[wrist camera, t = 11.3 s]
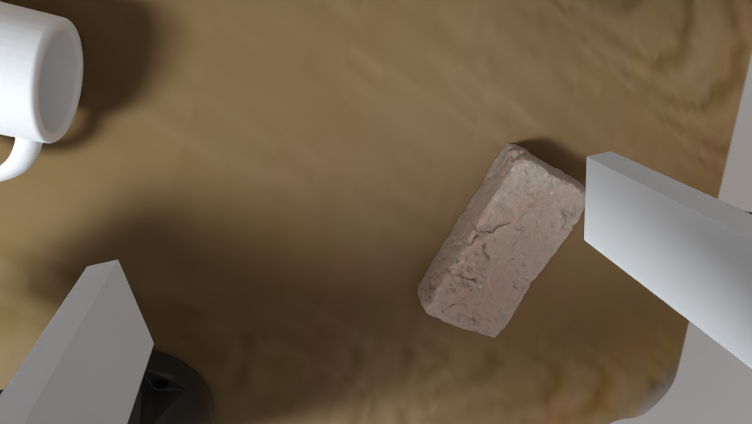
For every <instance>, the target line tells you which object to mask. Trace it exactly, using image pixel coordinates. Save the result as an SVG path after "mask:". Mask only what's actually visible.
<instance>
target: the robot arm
mask: <svg viewBox="0 0 752 424" xmlns="http://www.w3.org/2000/svg"><path fill="white" fill-rule="evenodd" d="M584 240H585V241H586V242H587V243H589V244H590V245H591V246H593V247H594V248H595V249H597V250H598V251H599V252H600V253H602V254H603V255H604V256H606V257H607V258H608V259H610V260H611V261H612V262H613V263H615V264H616V265H617V266H619V267H620V268H621V269H623V270H624V271H625V272H626V273H628V274H629V275H630V276H632V277H633V278H634V279H636V280H637V281H638V282H640V283H641V284H642V285H643V286H645V287H646V288H647V289H649V290H650V291H651V292H653V293H654V294H655V295H656V296H658V297H659V298H660V299H662V300H663V301H664V302H666V303H667V304H668V305H670V306H671V307H672V308H673V309H675V310H676V311H677V312H679V313H680V314H681V315H683V316H684V317H685V318H686V319H688V320H689V321H690V322H692V323H693V324H694V325H696V326H697V327H698V328H699V329H701V330H702V331H704V332H705V333H706V334H707V335H709V336H710V337H711V338H713V339H714V340H715V341H716V342H718V343H719V344H720V345H722V346H723V347H724V348H726V349H727V350H728V351H729V352H731V353H732V354H733V355H735V356H736V357H737V358H739V359H740V360H741V361H743V362H744V363H746V365H748V366H749V367H750V368H752V213H751V212H747V211H743V210H741V209H739V208H736V207H734V206H732V205H730V204H728V203H725V202H723V201H721V200H719V199H716V198H714V197H712V196H710V195H707V194H705V193H703V192H701V191H699V190H696V189H694V188H692V187H690V186H687V185H685V184H683V183H681V182H678V181H676V180H674V179H672V178H669V177H667V176H665V175H663V174H661V173H658V172H656V171H654V170H652V169H649V168H647V167H645V166H643V165H640V164H638V163H636V162H634V161H632V160H629V159H627V158H625V157H623V156H620V155H618V154H616V153H614V152H611V151H610V152H605V153H601V154H596V155H592V156H587V163H586V196H585V228H584ZM153 345H154V343H153V340H152V338H151V335H150V333H149V331H148V328H147V326H146V324H145V321H144V319H143V317H142V314H141V312H140V310H139V307H138V305H137V303H136V300H135V298H134V296H133V293H132V291H131V289H130V286H129V284H128V282H127V279H126V277H125V275H124V272H123V270H122V268H121V265H120V263H119V261H118V260H114V261H109V262H105V263H100V264H96V265H91V266H87V267H86V269H85V270H84V272H83V273H82V275H81V276H80V278H79V279H78V281H77V282H76V284H75V285H74V287H73V288H72V290H71V291H70V293H69V294H68V296H67V297H66V298H65V300H64V301H63V303H62V304H61V306H60V307H59V309H58V310H57V312H56V313H55V315H54V316H53V318H52V319H51V321H50V322H49V324H48V325H47V327H46V328H45V330H44V331H43V332H42V334H41V335H40V337H39V338H38V340H37V341H36V343H35V344H34V346H33V347H32V349H31V350H30V352H29V353H28V355H27V356H26V358H25V359H24V361H23V362H22V364H21V365H20V366H19V368H18V369H17V371H16V372H15V374H14V375H13V377H12V378H11V380H10V381H9V383H8V384H7V386H6V387H5V389H3V390H0V424H211V421H212V415H213V402H212V397H211V394H210V392H209V389H208V387H207V386H206V384H205V382H204V381H203V380H202V379H201V377H200V376H199V375H198V374H197V373H196V372H195V371H194V370H192V369H191V368H190V367H189V366H187V365H186V364H184V363H182V362H181V361H179V360H177V359H175V358H173V357H171V356H168V355H165V354H163V353H159V352H156V351H152V348H153Z"/></svg>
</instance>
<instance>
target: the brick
mask: <svg viewBox="0 0 752 424" xmlns="http://www.w3.org/2000/svg"><path fill="white" fill-rule="evenodd" d="M585 196H586V189H585V187H584V186H583V185H582V184H581V183H580V182H579V181H578V180H576V179H574V178H573V177H571V176H569V175H567V174H565V173H564V172H563V171H561V170H560V169H557V168H554V167H552V166H550V165H549V164H547V163H546V162H544V161H542V160H540V159H538V158H537V157H535V156H534V155H532V154H530V152H529V151H527V150H526V149H525V148H522V147H520V146H518V145H516V144H507V145H506V146H505V147H504V148H503V149H502V150H501V152H500V154H499V155H498V157H497V158H496V159H495V160H494V161H493V163H492V165H491V167H490V169H489V170H488V172H487V174H486V176H485V178H484V181H483V185H481V186H480V188H479V189H478V190H477V191H476V192H475V194H474V195H473V196H472V198H471V199H470V202H469V203H468V205H467V208H466V210H465V211H464V212H463V214H462V215H461V216H460V217H459V218H458V220H457V222H456V224H455V225H454V227H453V228H452V230H451V233H450V235H449V236H448V237H447V238H446V240H445V241H444V243H443V244H442V246H441V248H440V250H439V251H438V253H437V254H436V256H435V258H434V259H433V261H432V262H431V264H430V266H429V268H428V270H427V272H426V273H425V275H424V277H423V278H422V279H421V282H420V284H419V286H418V296H419V298H420V303H421V305H422V307H423V308H424V310H425V311H426V313H427V314H429V315H431V316H434V317H436V318H440V319H441V320H442V321H443V322H447V323H450V324H452V325H455V326H457V327H460V328H462V329H466V330H470V331H474V332H478V333H481V334H484V335H487V336H490V337H496V336H497V335H498V334H499V333H500V331H501V330H503V329H504V328H505V327H506V325H507V324H508V322H509V320H510V319H511V317H512V316H513V314H514V313H515V311H516V309H517V307H518V305H519V304H520V302H521V300H522V299H523V296H524V295H525V293H526V292H527V290H528V289H529V286H530V282H532V281H533V280H534V279H536V277H537V276H538V274H539V273H540V272H541V271H542V270H543V268H544V267H545V266H546V264H547V263H548V262H549V261H550V259H551V258H552V256H553V255H554V254H555V253H556V251H557V250H558V248H559V247H560V246H561V244H562V243H563V241H564V240H565V239H566V238H567V237H568V235H569V234H570V233H571V231H572V228H573V225H575V224H577V222H578V221H579V219H580V217H581V215H582V212H583V211H584V210H585Z"/></svg>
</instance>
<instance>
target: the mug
mask: <svg viewBox="0 0 752 424" xmlns="http://www.w3.org/2000/svg"><path fill="white" fill-rule="evenodd" d="M82 80H83V52H82V45H81V40H80V37H79V34H78V31H77V29H76V28H75V26H74V25H73V23H72V22H71V21H70V20H68V19H67V18H64V17H60V16H56V15H52V14H49V13H45V12H41V11H37V10H33V9H29V8H25V7H21V6H17V5H13V4H9V3H5V2H1V1H0V134H1V135H6V136H11V137H15V143H14V147H13V150H12V152H11V154H10V156H9V158H8V159H7V160H6V161H5V162H4V163H3V164H2V165H0V181H4V180H8V179H11V178H14V177H17V176H19V175H21V174H23V173H24V172H26V171H27V170H28V169H29V168H31V167H32V165H33V164H34V163H35V162H36V160H37V158H38V156H39V154H40V152H41V148H42V144H43V143H53V142H56V141H58V140H59V139H60V138H61V137H63V135H64V134H65V133H66V132H67V130H68V128H69V127H70V125H71V123H72V121H73V118H74V116H75V113H76V110H77V107H78V103H79V99H80V94H81V88H82Z"/></svg>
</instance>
